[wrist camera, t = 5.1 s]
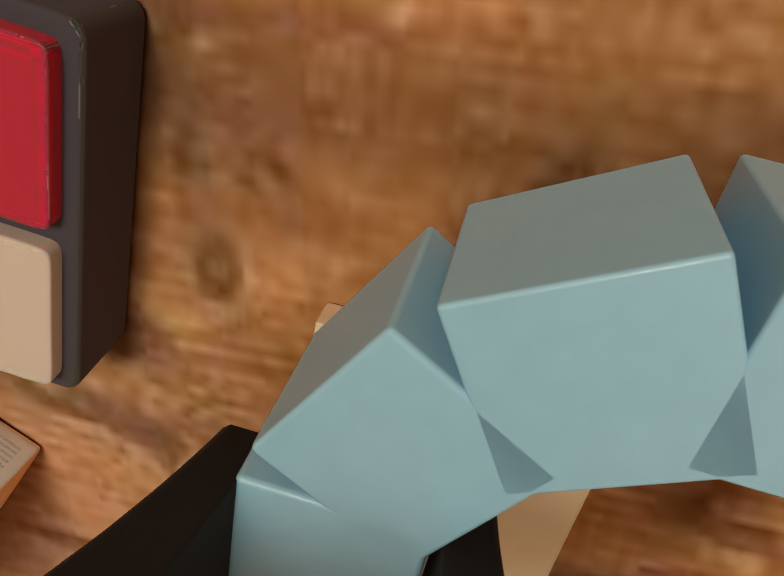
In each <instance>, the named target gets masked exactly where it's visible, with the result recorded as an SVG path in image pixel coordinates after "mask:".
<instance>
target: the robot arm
mask: <svg viewBox="0 0 784 576" xmlns="http://www.w3.org/2000/svg"><path fill="white" fill-rule="evenodd" d="M258 434H259V433H257V432H254V431H251V430H247V429H244V428H241V427H238V426H234V425H229V426H226V427H224V428H223V429H222V430H221V431H220V432H218V433H217V434H216V435H215V436H214V437H213V438H212V439H211V440H210V441H209V442H208V443H207V444H206V445H205V446H204V447H203V448H202V449H200V450H199V451H198V452H197V453H196V454H195V455H194V456H193V457H192V458H191V459H189V460H188V461H187V462H186V463H185V464H184V465H183V466H182V467H181V468H179V469H178V470H177V471H176V472H175V473H174V474H172V475H171V476H170V477H169V478H168V479H167V480H166V481H164V482H163V483H162V484H161V485H160V486H159V487H157V488H156V489H155V490H154V491H153V492H151V493H150V494H149V495H148V496H147V497H145V498H144V499H143V500H142V501H140V502H139V503H138V504H137V505H135V506H134V507H133V508H132V509H131V510H129V511H128V512H127V513H126V514H124V515H123V516H122V517H121V518H119V519H118V520H117V521H116V522H115V523H113V524H112V525H111V526H110V527H108V528H107V529H106V530H104V531H103V532H102V533H101V534H99V535H98V536H97V537H95V538H94V539H92V540H91V541H90V542H88V543H87V544H86V545H84V546H83V547H82V548H80V549H79V550H78V551H76V552H75V553H74V554H72V555H71V556H70V557H68V558H67V559H65V560H64V561H63V562H61V563H60V564H59V565H57V566H56V567H55V568H53V569H52V570H51V571H49V572H48V573H47V574H45V575H44V576H228V575H229V564H230V552H231V541H232V530H233V519H234V508H235V497H236V486H237V480H236V476H237V474H238V472H239V471H240V469H241V467H242V465H243V463H244V462H245V460H246V458H247V456H248V454H249V453H250V451H251V449H252V446H253V442H254V441H255V439H256V437H257V435H258ZM422 576H504V570H503V564H502V557H501V550H500V542H499V532H498V520H497V516H495V517H494V518H492V519H490V520H488V521H487V522H485V523H483V524H481V525H480V526H478V527H476V528H475V529H473V530H471V531H469V532H468V533H466V534H464V535H462V536H461V537H459V538H457V539H456V540H454V541H452V542H450V543H449V544H447V545H445V546H443V547H442V548H440V549H438V550H436V551H435V552H433V553H431V554H430V555H429V556H428V559H427V562H426V565H425V568H424V571H423V574H422Z"/></svg>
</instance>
